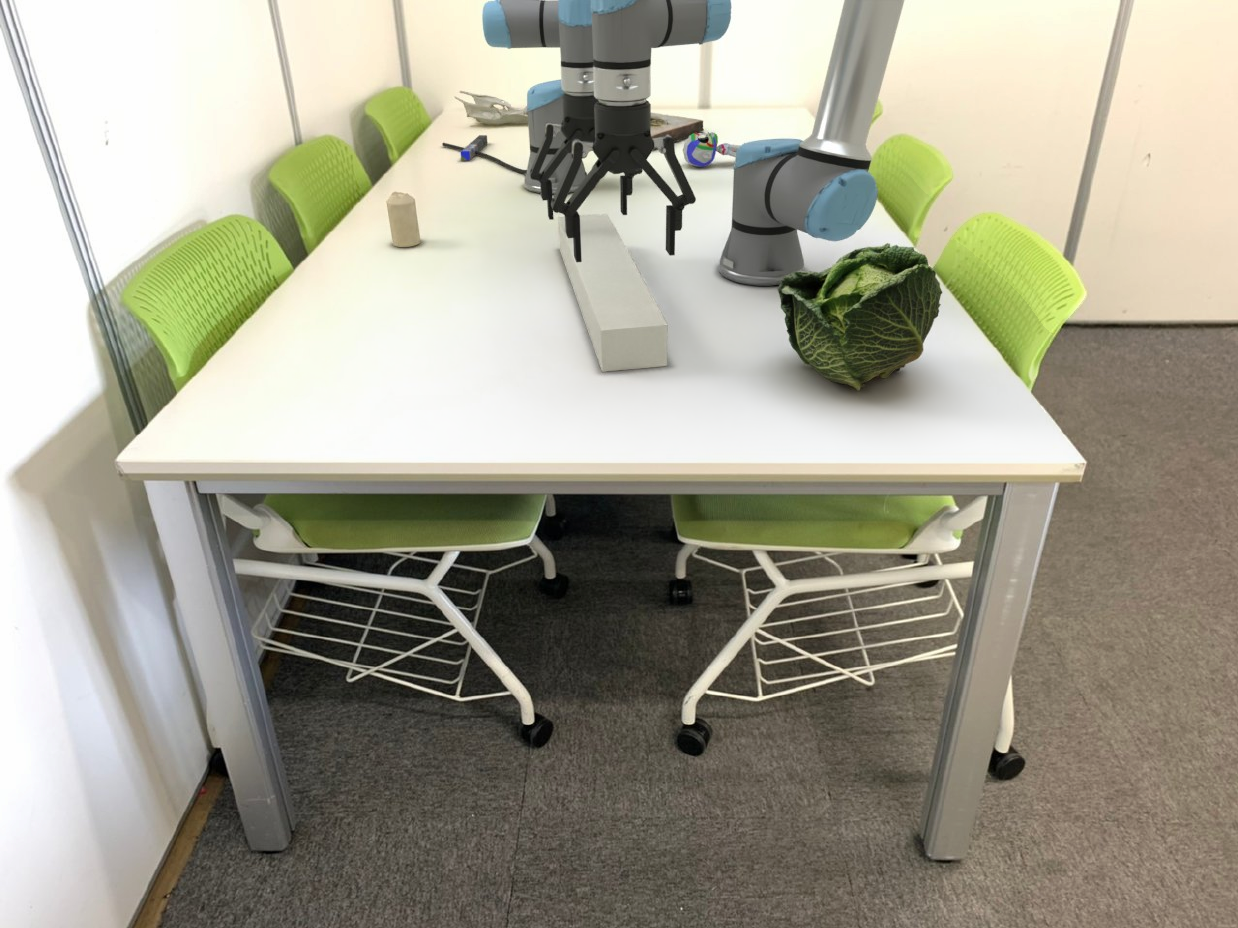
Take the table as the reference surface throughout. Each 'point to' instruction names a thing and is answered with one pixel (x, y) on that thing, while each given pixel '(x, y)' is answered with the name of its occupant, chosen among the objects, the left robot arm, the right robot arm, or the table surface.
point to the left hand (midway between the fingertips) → (587, 215)
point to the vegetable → (862, 313)
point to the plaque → (674, 126)
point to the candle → (403, 219)
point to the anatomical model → (493, 110)
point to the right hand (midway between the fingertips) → (624, 256)
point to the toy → (705, 149)
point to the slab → (613, 298)
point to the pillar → (473, 147)
